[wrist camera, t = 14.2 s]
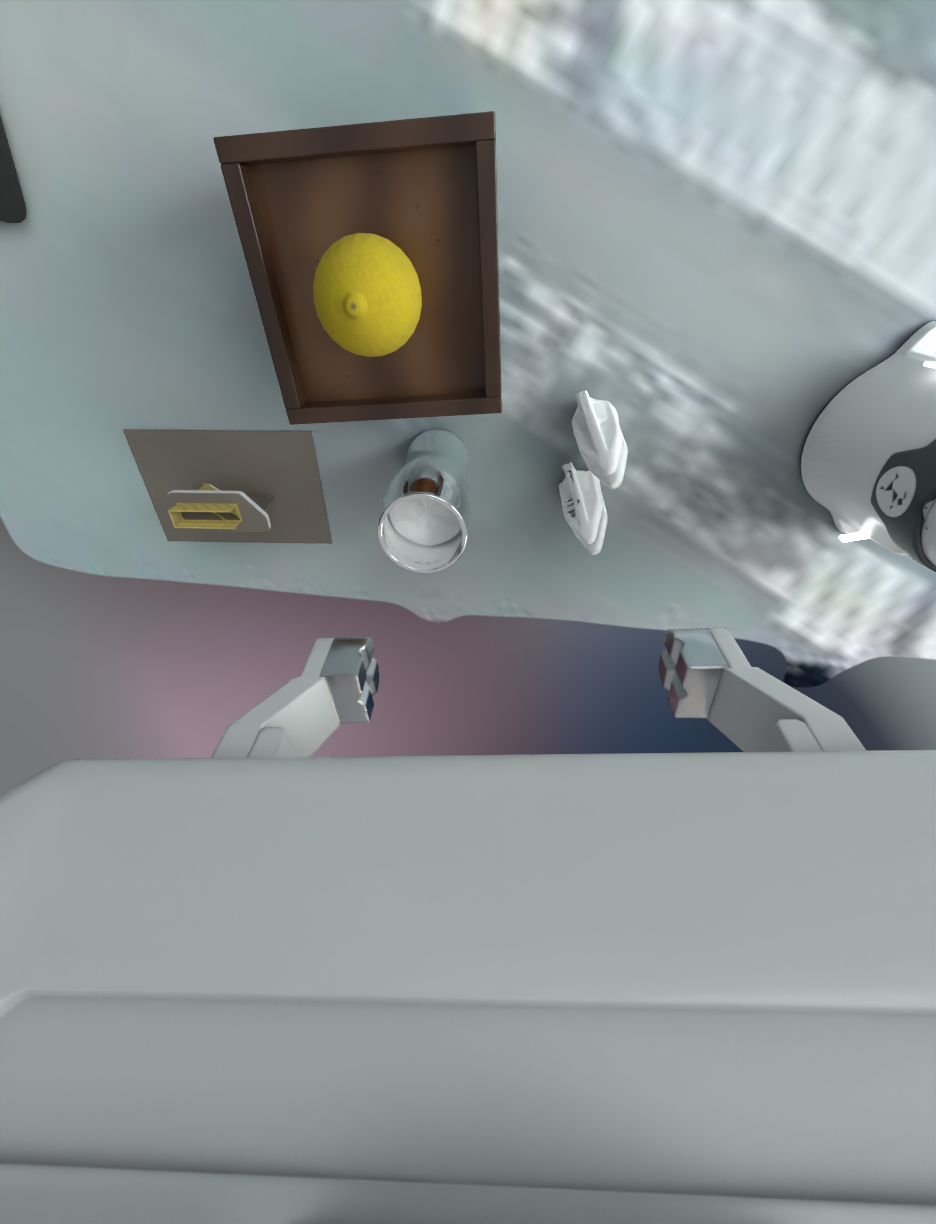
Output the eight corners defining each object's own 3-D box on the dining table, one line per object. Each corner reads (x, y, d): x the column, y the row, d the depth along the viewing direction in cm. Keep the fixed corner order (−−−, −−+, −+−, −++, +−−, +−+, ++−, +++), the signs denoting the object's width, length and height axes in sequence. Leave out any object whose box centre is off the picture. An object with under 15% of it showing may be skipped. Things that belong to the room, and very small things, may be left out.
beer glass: (388, 465, 49) (356, 541, 37) (430, 407, 46) (409, 470, 34) (445, 507, 52) (432, 591, 40) (489, 455, 48) (489, 529, 36)
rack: (492, 147, 35) (494, 110, 24) (498, 366, 44) (501, 413, 33) (296, 165, 36) (212, 137, 25) (339, 376, 45) (289, 424, 34)
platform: (122, 429, 48) (78, 454, 43) (311, 431, 48) (289, 456, 42) (168, 540, 55) (134, 573, 50) (332, 543, 55) (315, 576, 50)
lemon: (441, 325, 31) (429, 349, 25) (359, 354, 32) (327, 386, 26) (407, 216, 28) (383, 212, 22) (318, 253, 29) (270, 260, 23)
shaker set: (573, 384, 44) (594, 422, 36) (621, 387, 44) (654, 426, 36) (553, 510, 52) (567, 568, 43) (595, 512, 52) (616, 570, 43)
